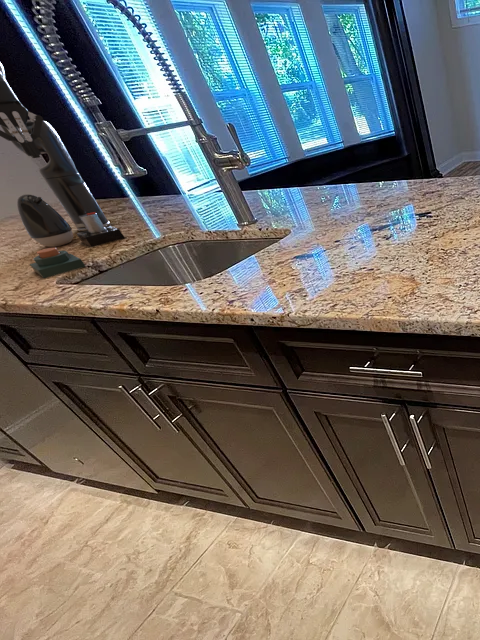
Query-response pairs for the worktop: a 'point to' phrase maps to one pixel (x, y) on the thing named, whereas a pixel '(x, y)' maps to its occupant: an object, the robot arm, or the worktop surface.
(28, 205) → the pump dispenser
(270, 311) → the worktop surface
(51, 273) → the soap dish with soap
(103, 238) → the faucet panel
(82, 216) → the faucet dial
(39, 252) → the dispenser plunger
